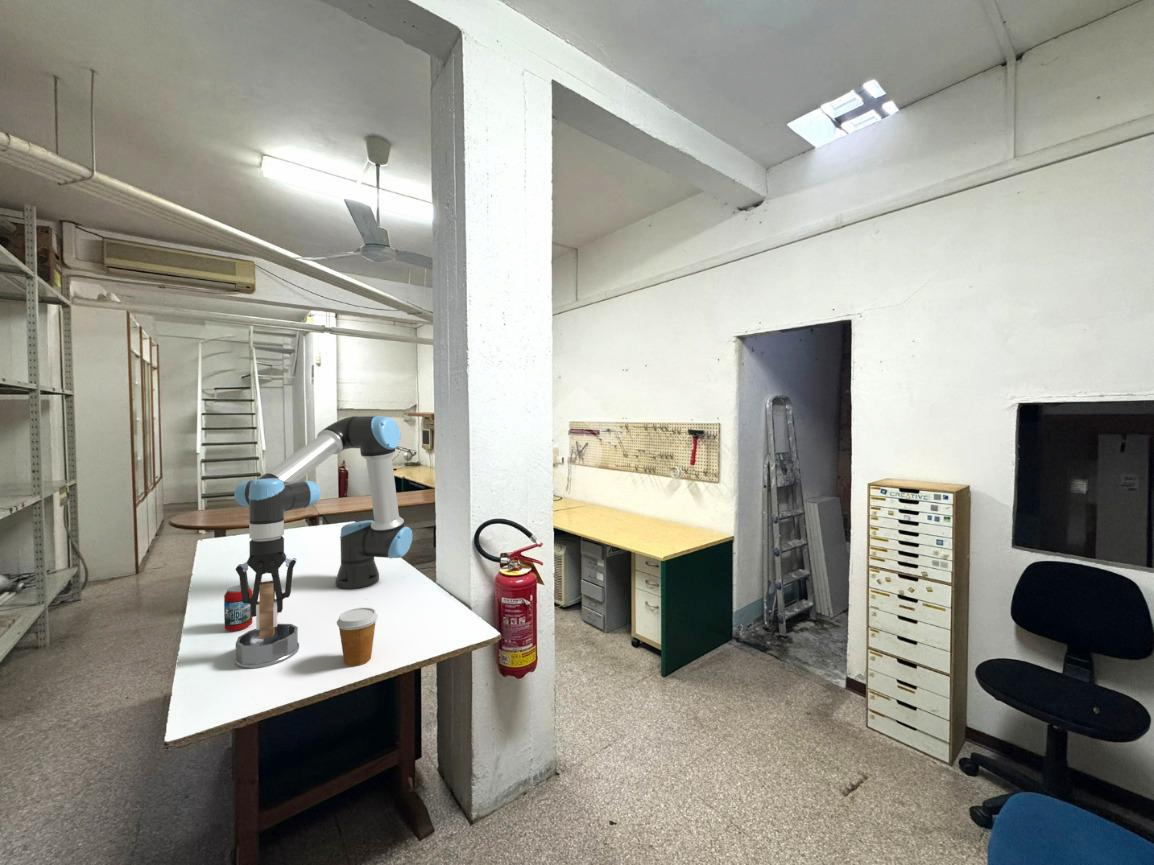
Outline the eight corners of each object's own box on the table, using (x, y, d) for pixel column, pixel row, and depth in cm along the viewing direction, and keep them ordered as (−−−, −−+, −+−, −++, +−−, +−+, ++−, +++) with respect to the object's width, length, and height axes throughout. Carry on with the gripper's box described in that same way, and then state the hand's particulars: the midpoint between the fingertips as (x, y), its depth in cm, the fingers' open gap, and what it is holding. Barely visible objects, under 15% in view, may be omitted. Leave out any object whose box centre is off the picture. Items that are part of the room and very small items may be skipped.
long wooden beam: (274, 632, 122) (274, 580, 122) (273, 636, 119) (273, 583, 119) (261, 634, 120) (261, 582, 120) (259, 639, 118) (259, 585, 118)
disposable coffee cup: (346, 651, 122) (346, 607, 121) (383, 650, 122) (382, 606, 122) (330, 670, 112) (329, 622, 112) (370, 669, 113) (369, 621, 113)
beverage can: (222, 634, 131) (221, 593, 131) (227, 625, 137) (226, 586, 137) (250, 629, 134) (250, 589, 134) (254, 621, 140) (254, 582, 140)
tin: (300, 637, 129) (300, 619, 129) (296, 660, 117) (296, 640, 117) (240, 648, 123) (240, 629, 123) (229, 674, 110) (229, 652, 110)
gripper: (303, 531, 126) (303, 615, 127) (232, 537, 119) (232, 626, 119) (301, 537, 120) (301, 625, 120) (225, 544, 112) (226, 638, 113)
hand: (267, 626), depth 120 cm, fingers closed on long wooden beam, 3 cm apart
